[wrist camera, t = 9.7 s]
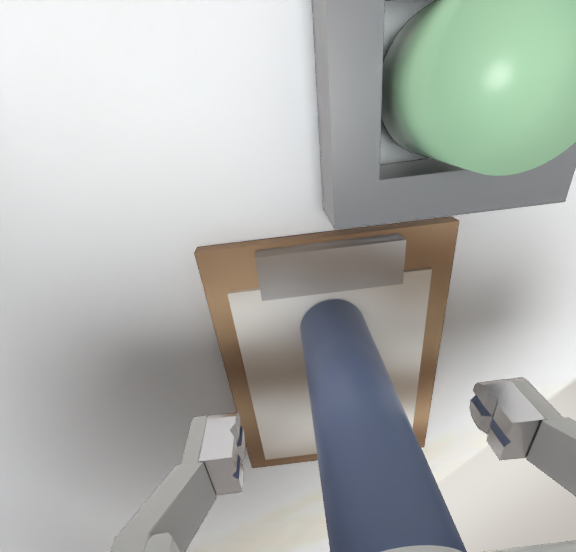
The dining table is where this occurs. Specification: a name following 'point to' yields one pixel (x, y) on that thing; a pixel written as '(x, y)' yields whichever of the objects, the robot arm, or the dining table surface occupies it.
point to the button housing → (367, 130)
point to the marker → (367, 444)
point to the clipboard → (309, 292)
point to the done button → (484, 83)
